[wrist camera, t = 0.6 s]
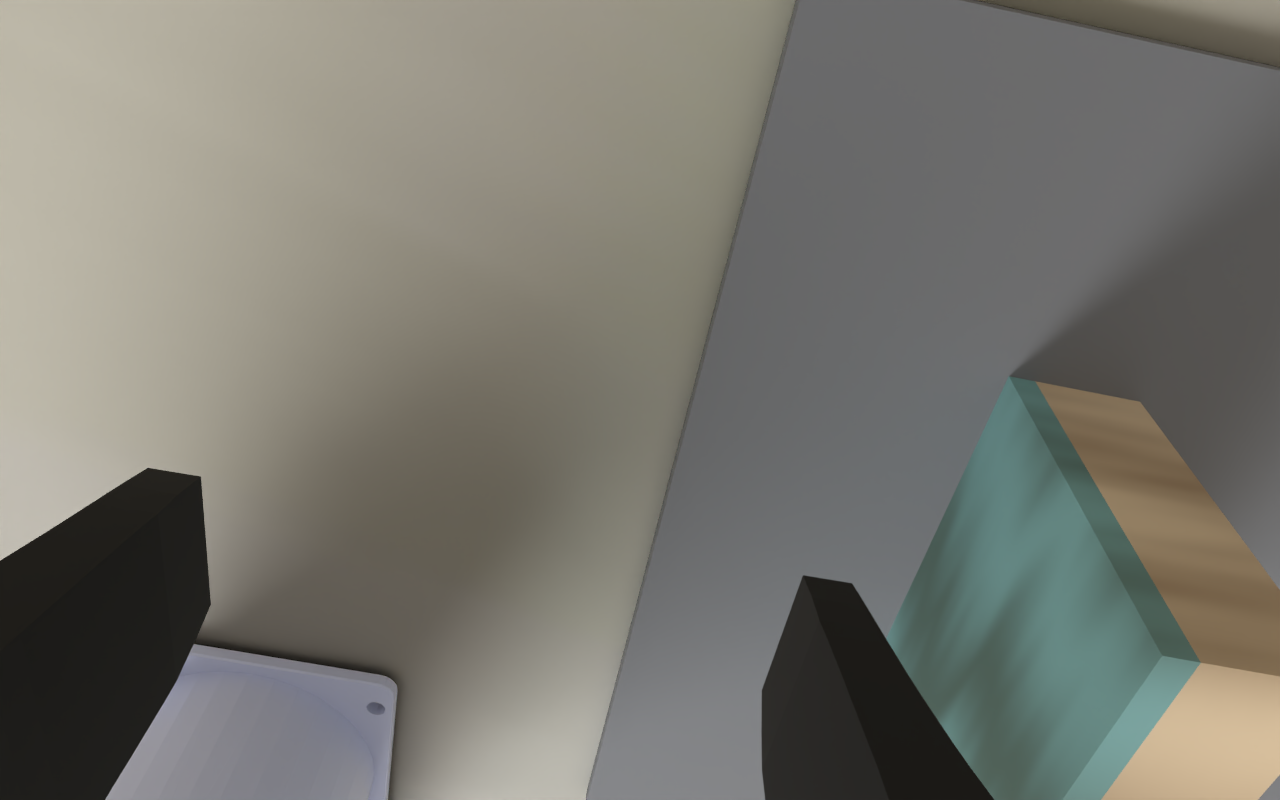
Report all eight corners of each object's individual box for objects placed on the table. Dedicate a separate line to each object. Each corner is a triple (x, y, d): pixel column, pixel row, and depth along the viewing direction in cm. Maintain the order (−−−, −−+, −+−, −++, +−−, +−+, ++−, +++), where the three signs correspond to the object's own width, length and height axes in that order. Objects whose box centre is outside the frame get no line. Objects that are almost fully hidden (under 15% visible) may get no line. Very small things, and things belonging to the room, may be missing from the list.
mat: (1197, 889, 31) (1204, 904, 31) (586, 791, 30) (585, 805, 29) (1818, 186, 19) (1845, 195, 18) (806, -37, 17) (809, -33, 17)
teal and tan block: (969, 704, 26) (1066, 1019, 20) (863, 686, 26) (924, 998, 19) (1140, 401, 21) (1353, 689, 14) (1008, 376, 21) (1161, 655, 14)
